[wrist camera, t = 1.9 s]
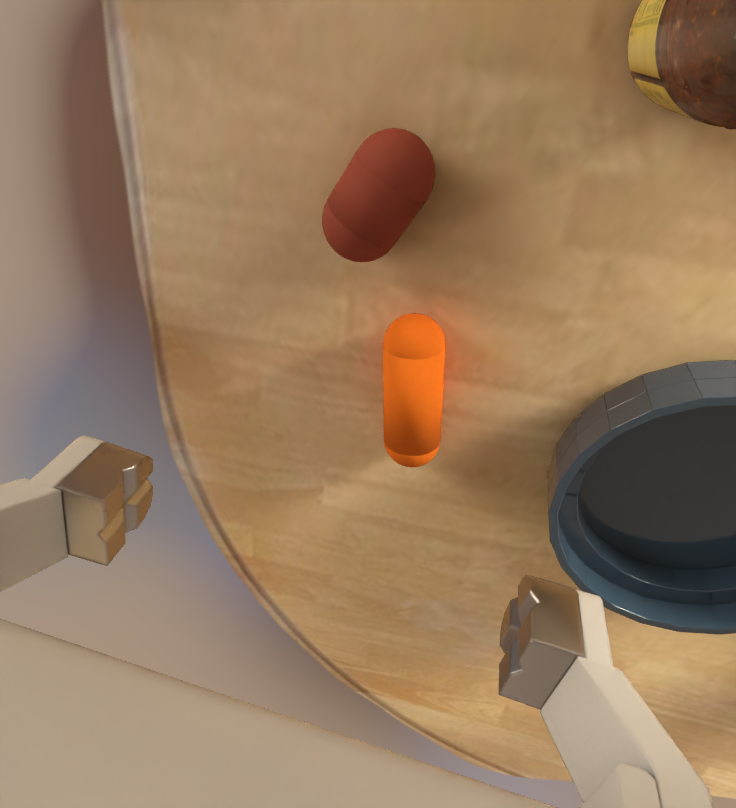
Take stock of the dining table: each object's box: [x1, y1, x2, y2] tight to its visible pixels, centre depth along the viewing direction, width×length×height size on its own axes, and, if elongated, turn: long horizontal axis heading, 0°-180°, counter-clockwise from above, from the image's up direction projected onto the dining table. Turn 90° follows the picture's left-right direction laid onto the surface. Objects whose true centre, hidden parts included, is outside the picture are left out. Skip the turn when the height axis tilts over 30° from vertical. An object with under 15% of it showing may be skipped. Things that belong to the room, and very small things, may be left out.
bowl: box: [547, 360, 736, 634], centre depth 38 cm, size 19×19×5 cm
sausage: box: [322, 128, 435, 262], centre depth 33 cm, size 8×5×5 cm, turn 146°
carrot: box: [383, 313, 446, 467], centre depth 40 cm, size 12×4×4 cm, turn 1°
